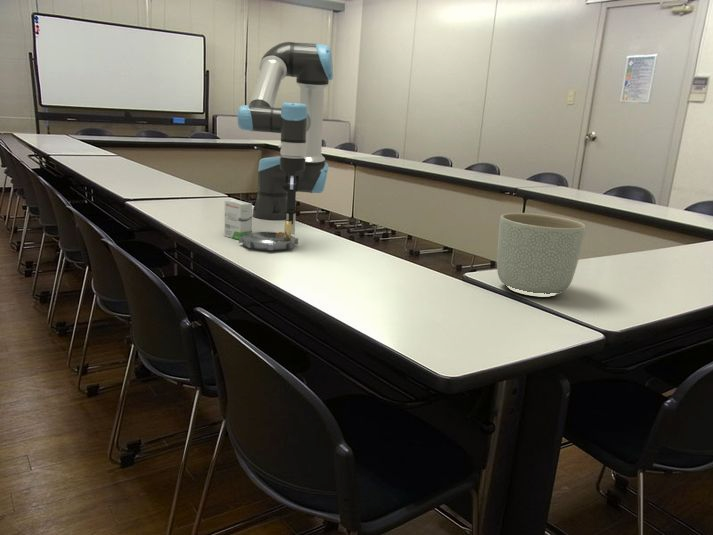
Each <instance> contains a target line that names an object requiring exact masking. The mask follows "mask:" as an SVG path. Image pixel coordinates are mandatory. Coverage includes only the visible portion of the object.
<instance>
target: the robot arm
mask: <svg viewBox="0 0 713 535" xmlns="http://www.w3.org/2000/svg"><path fill="white" fill-rule="evenodd" d="M258 67H259V68H258V69H259V74H258V77H257V81H256V83H255V86H254V89H253V92H252V95H251V97H250V101H249V103H248V104H246V105H245V104H244V105H239V107H238V109H237V126H238V128H239V129H240V130H243V131H249V132H259V133H260V132H262V133H273V134H274V133H275V134H280V144H278V148H279V149H280V155H281V156H270V157H264V158H261V159H260V160H259V162H258V169H257V172H258V176H257V178H258V179H257V197H256V201H255V203H254V206H253V207H252V217H254V218H258V219H261V220H270V221H271V220H274V221H275V220H278V221H281V220H285V221H292V225H291V235H296V213H299V211H298V210H297V209H296V208H297V207H296V199H297V198H296V196H297V193H298V192H299V193H310V194H321V193H323V192H324V190H325V185H326V182H327V177H328V172H329V163H327V162H326V158H325V156H323V155H322V148H323V147H322V144H323V143H322V142H323V124H324V123H323V122H324V120H323V119H324V99H325V98H324V96H325V89H326V88H327V87H328V86H329V83H330V82H329V81H331V80H333V79H334V78H333V77H334V73H333V72H334V67H333V54H332V50H331V48H330V47H329V46H328V45H326V44H321V43H308V42H295V41H284V42H281V43H278V44H276V45H275V46H273V47H271V48H269V49H268V50H267V51H266V53H264V54H263V56H262V57H261V60H260V62H259V65H258ZM285 77H291V78H296V80H295V81H296V84H297V85H298V86H299V88H300V89H299V90H300V92H299V95H300V96H299V102H297V103H296V102H283V103H282V105H281V107H275V104H276V100H277V97H278V92H279V90H280V86H281V83H282V80H284V79H285Z"/></svg>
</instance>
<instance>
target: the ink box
mask: <svg viewBox="0 0 713 535" xmlns="http://www.w3.org/2000/svg"><path fill="white" fill-rule="evenodd" d="M252 219H253V203H251V202H247V201H242V200H239V199H231V200H230V199H228V200H227V199H226V200H225V201H224V233H223V234H224V237H227V238H230V239H234V240H237V241H239V237H243V235H245V234H246V233H253V232H252V230H253V229H252V227H253V226H252V225H253V224H252V223H253V220H252Z"/></svg>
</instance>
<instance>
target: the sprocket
mask: <svg viewBox="0 0 713 535" xmlns="http://www.w3.org/2000/svg"><path fill="white" fill-rule="evenodd" d="M291 225H292V221H286V220H285V221H284V232H282V231H280V232H273V231H257V232H256V231H255V232H252V233H246V234H245V235H243V237H239V240H238V243H239V244H242V245H243V246H245V247H246V248H248V249H249V248H250V249H256V250H266V251H279V250H288V249H289V250H291V249H293V248H294V247H295V245H299V238H296V237H295V236H293V235H292V234H291Z"/></svg>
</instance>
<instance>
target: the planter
mask: <svg viewBox="0 0 713 535" xmlns="http://www.w3.org/2000/svg"><path fill="white" fill-rule="evenodd" d="M586 226H587V225H586V224H584V222H580V221H578V220H574V219H571V218H566V217H561V216H556V215H555V216H554V215H548V214H541V213H530V212H508V213H503V214H501V215H500V218H499V227H498V239H497V254H496V269H497V270H496V271H497V276H498V279H499V281H500V282H501V284H503V283H504V284H505V285H507V286H510V287H512V288H515V289H519V290H523V291H527V292H533V293H544V294H545V293H546V294H550V293H560V292H562V293H563V292H565V291H566V290H567V289H568V288H569V287H570V286H571V284H572V281H573V279H574V276H575V273H576V270H577V266H578V263H579V258H580V255H581V251H582V248H583V243H584V240H585V239H584V238H585V235H586V234H585V233H586V229H587V228H586ZM504 284H503V285H504ZM505 285H504V286H505ZM560 294H561V293H560Z"/></svg>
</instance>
